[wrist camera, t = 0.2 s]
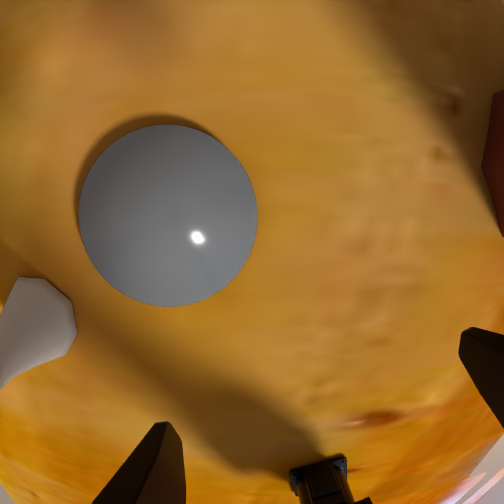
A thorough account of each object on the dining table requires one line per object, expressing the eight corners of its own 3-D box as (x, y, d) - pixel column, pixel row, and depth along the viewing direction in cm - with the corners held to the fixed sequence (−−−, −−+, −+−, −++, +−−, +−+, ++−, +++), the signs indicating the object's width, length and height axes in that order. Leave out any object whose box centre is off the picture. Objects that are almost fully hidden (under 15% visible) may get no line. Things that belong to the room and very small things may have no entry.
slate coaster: (271, 280, 22) (273, 285, 21) (114, 314, 22) (110, 320, 21) (234, 107, 19) (234, 104, 18) (67, 157, 19) (61, 157, 18)
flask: (10, 332, 22) (-48, 394, 12) (13, 261, 20) (-66, 312, 11) (75, 364, 23) (28, 444, 14) (84, 294, 21) (18, 368, 12)
